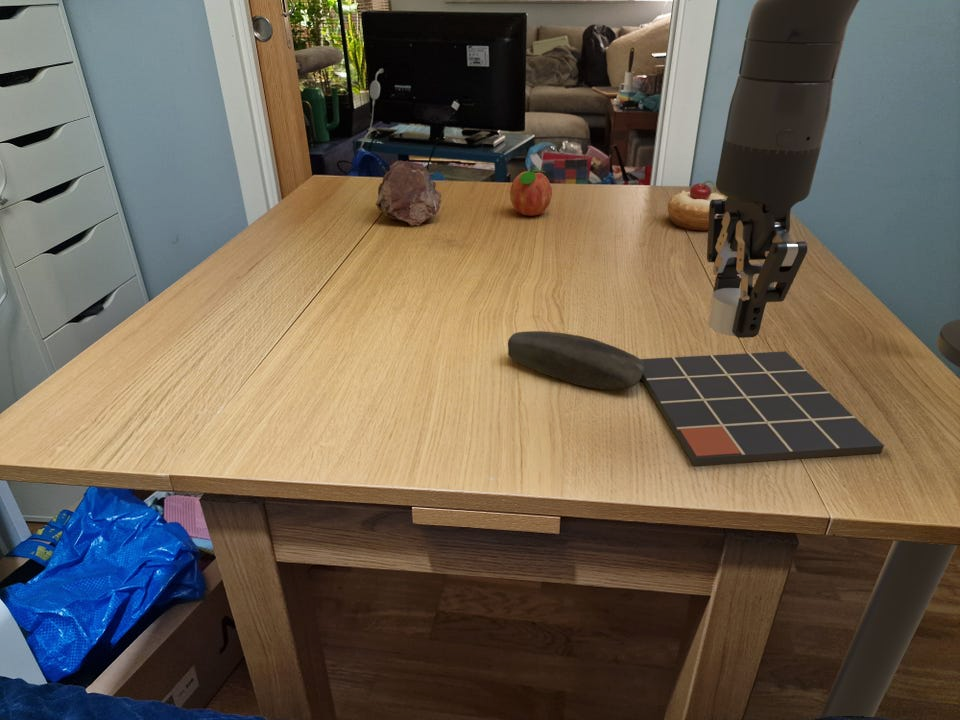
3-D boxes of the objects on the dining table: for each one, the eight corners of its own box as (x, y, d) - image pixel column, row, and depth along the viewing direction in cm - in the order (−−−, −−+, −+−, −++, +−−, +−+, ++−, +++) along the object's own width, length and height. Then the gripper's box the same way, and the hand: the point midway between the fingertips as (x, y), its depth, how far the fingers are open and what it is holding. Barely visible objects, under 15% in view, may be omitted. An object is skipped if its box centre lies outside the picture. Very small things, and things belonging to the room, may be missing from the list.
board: (783, 357, 85) (785, 350, 85) (881, 453, 68) (884, 444, 67) (632, 366, 83) (633, 358, 83) (693, 466, 66) (695, 457, 66)
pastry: (688, 211, 140) (694, 168, 136) (739, 224, 132) (748, 179, 128) (653, 222, 133) (659, 178, 129) (705, 237, 125) (713, 190, 121)
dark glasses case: (648, 374, 82) (652, 344, 80) (636, 400, 77) (640, 369, 74) (518, 347, 88) (519, 319, 86) (499, 369, 83) (500, 340, 81)
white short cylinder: (743, 314, 65) (749, 286, 63) (764, 335, 61) (771, 305, 60) (700, 316, 65) (705, 288, 63) (718, 337, 61) (724, 307, 59)
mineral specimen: (391, 247, 135) (389, 204, 144) (450, 226, 132) (444, 184, 142) (365, 203, 126) (365, 160, 136) (427, 180, 124) (423, 138, 134)
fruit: (500, 215, 137) (501, 166, 132) (525, 204, 144) (527, 158, 139) (535, 223, 133) (537, 173, 128) (559, 211, 140) (562, 163, 135)
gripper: (868, 155, 48) (810, 358, 57) (773, 120, 61) (737, 292, 69) (770, 157, 48) (726, 362, 56) (695, 121, 60) (668, 294, 69)
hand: (732, 322), depth 63 cm, fingers closed on white short cylinder, 4 cm apart
